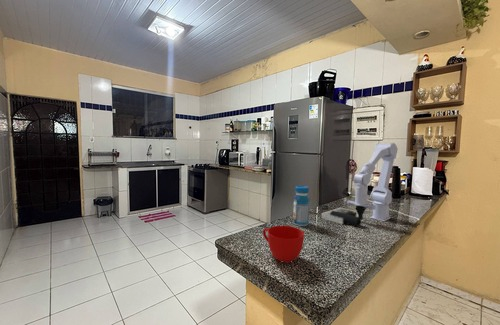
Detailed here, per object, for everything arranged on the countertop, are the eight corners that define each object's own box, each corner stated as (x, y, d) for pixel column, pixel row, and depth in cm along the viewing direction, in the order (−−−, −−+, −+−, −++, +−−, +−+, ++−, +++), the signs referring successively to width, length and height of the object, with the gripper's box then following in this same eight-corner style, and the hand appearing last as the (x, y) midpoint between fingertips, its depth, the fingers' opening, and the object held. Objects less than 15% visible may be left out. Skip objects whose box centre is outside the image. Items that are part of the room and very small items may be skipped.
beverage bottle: (302, 227, 113) (303, 188, 112) (289, 223, 120) (290, 186, 118) (312, 224, 119) (313, 187, 117) (299, 220, 125) (300, 184, 124)
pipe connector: (340, 207, 134) (366, 213, 122) (340, 216, 134) (366, 223, 123) (330, 211, 127) (356, 218, 115) (329, 220, 127) (356, 228, 116)
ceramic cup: (273, 244, 94) (273, 220, 93) (309, 258, 82) (310, 232, 81) (252, 254, 84) (252, 228, 84) (289, 272, 73) (290, 242, 72)
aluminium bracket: (340, 211, 143) (340, 207, 142) (360, 217, 133) (360, 212, 132) (321, 218, 129) (321, 213, 129) (342, 224, 120) (342, 218, 119)
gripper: (344, 194, 125) (344, 217, 126) (371, 198, 114) (371, 224, 115) (350, 192, 130) (350, 215, 131) (377, 196, 119) (376, 221, 120)
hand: (360, 219), depth 123 cm, fingers closed, pressing on pipe connector
